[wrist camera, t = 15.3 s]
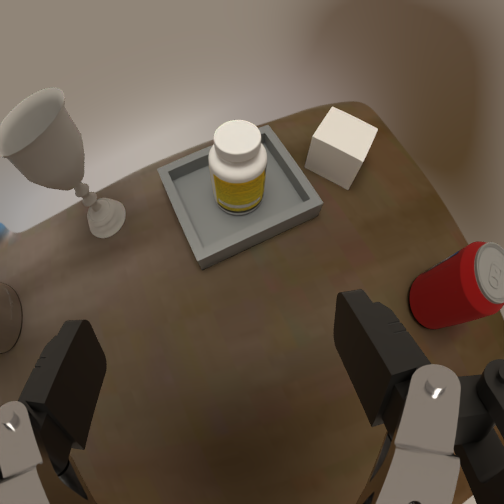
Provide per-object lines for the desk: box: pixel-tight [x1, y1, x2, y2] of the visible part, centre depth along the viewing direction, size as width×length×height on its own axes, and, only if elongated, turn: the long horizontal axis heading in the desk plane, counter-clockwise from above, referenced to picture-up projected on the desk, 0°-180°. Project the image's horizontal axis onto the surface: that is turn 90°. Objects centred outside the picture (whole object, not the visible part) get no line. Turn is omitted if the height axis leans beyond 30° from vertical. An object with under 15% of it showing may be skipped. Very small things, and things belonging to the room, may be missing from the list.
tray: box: [157, 125, 323, 270], centre depth 33 cm, size 14×12×3 cm
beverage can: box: [410, 242, 504, 329], centre depth 25 cm, size 7×7×12 cm
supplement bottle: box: [208, 120, 267, 215], centre depth 29 cm, size 5×5×10 cm
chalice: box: [0, 88, 126, 238], centre depth 25 cm, size 7×7×18 cm
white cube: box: [304, 107, 378, 190], centre depth 34 cm, size 6×6×6 cm
